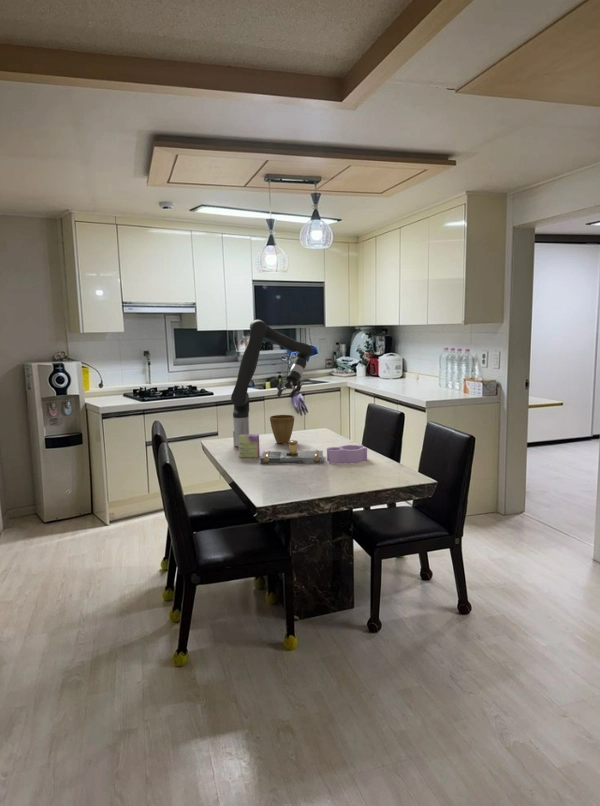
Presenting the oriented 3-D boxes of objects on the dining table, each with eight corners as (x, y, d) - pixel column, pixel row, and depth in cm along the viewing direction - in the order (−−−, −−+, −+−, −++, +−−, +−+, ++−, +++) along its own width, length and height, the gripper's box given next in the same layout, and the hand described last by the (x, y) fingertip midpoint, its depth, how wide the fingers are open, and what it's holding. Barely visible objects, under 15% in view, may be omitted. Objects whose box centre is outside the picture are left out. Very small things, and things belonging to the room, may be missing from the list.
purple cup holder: (331, 465, 260) (331, 452, 259) (324, 459, 272) (324, 446, 271) (369, 462, 264) (369, 449, 263) (361, 456, 276) (361, 443, 275)
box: (259, 455, 285) (259, 433, 283) (258, 457, 279) (257, 436, 277) (241, 455, 286) (240, 434, 284) (239, 457, 280) (238, 436, 278)
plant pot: (295, 445, 305) (294, 418, 302) (269, 445, 305) (268, 419, 303) (295, 439, 320) (294, 414, 317) (271, 440, 320) (270, 414, 317)
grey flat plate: (260, 464, 266) (260, 458, 265) (263, 456, 281) (263, 450, 280) (322, 463, 264) (322, 457, 264) (322, 455, 279) (322, 450, 279)
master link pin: (288, 461, 270) (287, 442, 269) (289, 458, 275) (288, 440, 274) (297, 460, 270) (297, 442, 269) (298, 458, 275) (297, 440, 274)
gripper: (282, 369, 298) (271, 391, 291) (303, 370, 291) (292, 393, 283) (287, 377, 304) (277, 399, 296) (308, 378, 296) (298, 401, 288)
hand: (284, 396), depth 290 cm, fingers open, 8 cm apart
